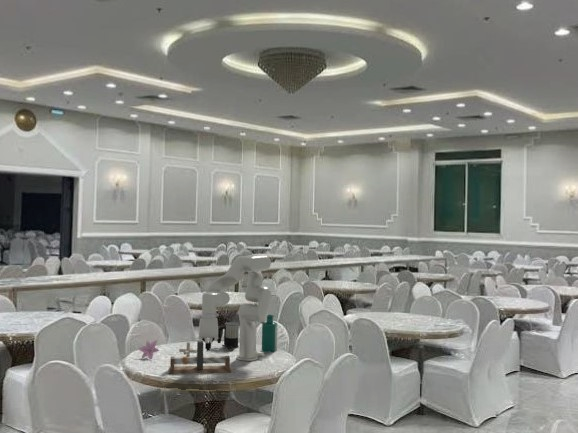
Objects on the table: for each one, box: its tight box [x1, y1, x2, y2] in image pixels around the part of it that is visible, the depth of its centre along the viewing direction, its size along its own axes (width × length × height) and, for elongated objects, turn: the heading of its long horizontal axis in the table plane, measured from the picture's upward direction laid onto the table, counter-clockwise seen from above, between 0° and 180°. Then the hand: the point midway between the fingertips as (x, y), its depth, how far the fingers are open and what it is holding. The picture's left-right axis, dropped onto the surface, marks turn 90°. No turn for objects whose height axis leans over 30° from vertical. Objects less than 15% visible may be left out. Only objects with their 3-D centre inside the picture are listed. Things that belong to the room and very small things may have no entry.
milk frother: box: [216, 321, 240, 351], centre depth 380 cm, size 14×16×15 cm
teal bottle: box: [260, 314, 278, 353], centre depth 377 cm, size 10×8×22 cm
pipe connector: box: [179, 341, 197, 357], centre depth 349 cm, size 10×10×10 cm
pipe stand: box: [168, 355, 232, 375], centre depth 326 cm, size 32×11×7 cm, turn 100°
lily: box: [138, 339, 160, 360], centre depth 352 cm, size 12×12×10 cm
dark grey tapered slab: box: [196, 340, 204, 370], centre depth 326 cm, size 3×8×14 cm, turn 10°
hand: (208, 350), depth 327 cm, fingers closed
